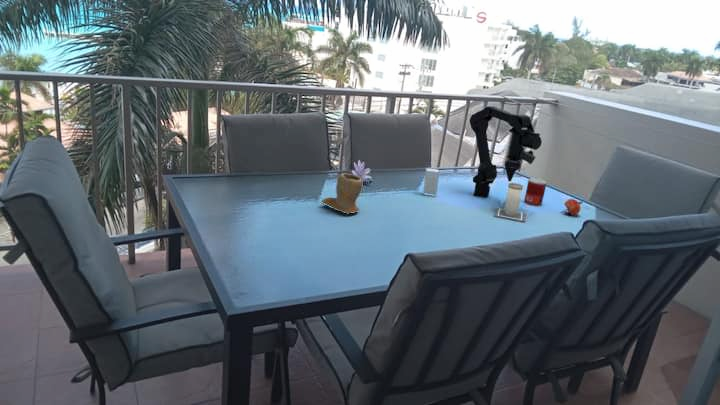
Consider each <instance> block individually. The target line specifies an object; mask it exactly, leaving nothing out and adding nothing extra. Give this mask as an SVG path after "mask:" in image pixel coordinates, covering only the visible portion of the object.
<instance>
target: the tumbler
mask: <svg viewBox="0 0 720 405" xmlns="http://www.w3.org/2000/svg"><path fill="white" fill-rule="evenodd" d="M507 186H508V188H507V191H506V199H505V204H504V208H503V209H504V214H505V215H507V216H512V217H515V216H517V213H518V212H519V207H520V202H521V196H522V192H523V190H524V189H523V188H524V185H522V184H519V183H515V182H511V183H508V185H507Z"/></svg>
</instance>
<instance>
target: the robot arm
mask: <svg viewBox="0 0 720 405" xmlns="http://www.w3.org/2000/svg"><path fill="white" fill-rule="evenodd" d="M493 118H494V119H497V120H499V121H500V120H501V121H502V122H506V123H507V124H508V125H509V126H510V127H511V128H510V129H508V130H507V132H508V133H511V138H510V142H509V147H508V152H507V153H508V154H507V158H506V160H505V162H504V167H505V172H506V173H505V174H506V175H507V182H512V180H513V177H514V176H515V173H516V172H517V171H518V170H520V168H521V166H522V165H521V164H522V160H523V161H525V162H527V163H528V164H530V165H532V164H533V162H534V161H535V160H536V156H535V154H534V151H533V150H535V151H536V150H538V149H540V148H541V146H542V143H543V142H542V138H541V136H540V135H541V134H540V133H539V132H535V130H534V126H533V124H532V121H531V116H529V115H526V114H517V113H512V112H509V111H507V110H504V109H501V108H498V107H496V106H491V105H489V106H486V107H485V108H483V109H481V110H479V111H477V112H476V113H473V114H471V116H470V118H469V124H470V127H471V130H472V131H473V133H474V134H475V140H476V146H477V152H478V158H479V159H478V161H479V165H478V167H477V174H475V175H474V176H473V177H472V183H474V190H473V194H472V195H473V196H474V197H480V198H485V199H487V198H488V197H489V195H490V190H491V186H490V184H493V183H494V182H495V180H496V179H497V177H498V176H497V175H498V173H499V172H498V171H497V170H498V169H497V165H496V164H493V162H492V161H491V154H490V153H491V152H490V148H489V140H488V135H487V131H488V127H489V122H490V121H491V120H493ZM525 148H528V149H530V150H528V151H526V150H524V149H525Z"/></svg>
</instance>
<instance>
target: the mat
mask: <svg viewBox="0 0 720 405" xmlns="http://www.w3.org/2000/svg"><path fill="white" fill-rule="evenodd" d="M493 218H500V219H504V220H510V221H515V222H520V223H523V224H525V223H526V221H527V213H526V212H521V211H518V213H517V216H515V217H512V216H507V215H505V214H504V208H500V207H495V210H494V213H493Z"/></svg>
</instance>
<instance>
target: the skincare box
mask: <svg viewBox="0 0 720 405" xmlns="http://www.w3.org/2000/svg"><path fill="white" fill-rule="evenodd" d="M424 175H425V176H424V186H423V191H424V193H427V194H433V195H436V196H437V193H438V187H439V186H438V184H439V179H440V177H439V176H440V170H439V169H433V168H426V169H425V174H424Z"/></svg>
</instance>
